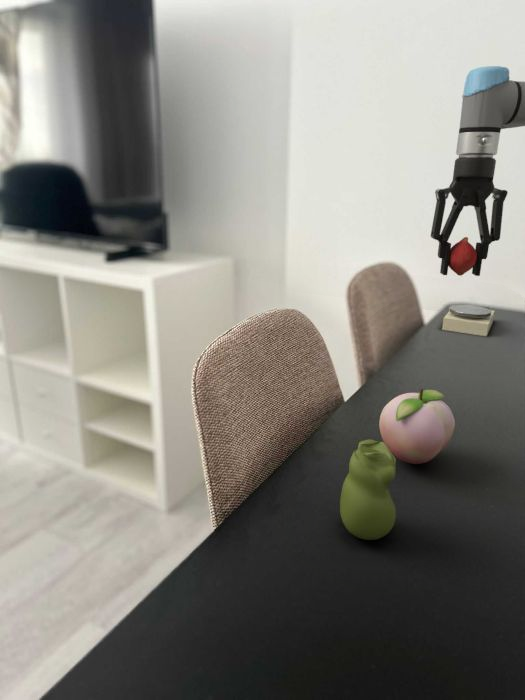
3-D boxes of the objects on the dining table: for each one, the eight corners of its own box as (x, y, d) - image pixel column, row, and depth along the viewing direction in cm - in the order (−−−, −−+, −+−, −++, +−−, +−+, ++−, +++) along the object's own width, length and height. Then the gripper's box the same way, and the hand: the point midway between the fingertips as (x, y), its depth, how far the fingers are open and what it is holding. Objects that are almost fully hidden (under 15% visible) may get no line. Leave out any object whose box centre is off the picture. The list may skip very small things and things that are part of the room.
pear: (332, 516, 53) (339, 430, 50) (382, 514, 54) (392, 428, 50) (346, 553, 48) (354, 460, 45) (401, 551, 48) (413, 458, 45)
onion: (446, 277, 106) (451, 238, 103) (443, 272, 111) (448, 234, 109) (476, 278, 105) (481, 239, 102) (471, 273, 110) (477, 235, 107)
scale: (452, 316, 130) (454, 302, 129) (492, 322, 126) (495, 308, 125) (441, 330, 119) (444, 315, 117) (486, 337, 114) (489, 321, 113)
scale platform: (452, 305, 126) (452, 302, 125) (492, 311, 122) (493, 307, 121) (445, 314, 118) (446, 310, 118) (488, 319, 114) (489, 316, 114)
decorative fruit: (396, 437, 69) (404, 368, 66) (456, 459, 64) (468, 386, 61) (361, 465, 63) (368, 390, 59) (425, 491, 58) (436, 411, 54)
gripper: (431, 156, 97) (417, 276, 105) (533, 156, 96) (512, 278, 104) (422, 157, 104) (410, 270, 112) (517, 158, 103) (499, 272, 111)
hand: (459, 274), depth 108 cm, fingers closed on onion, 6 cm apart
